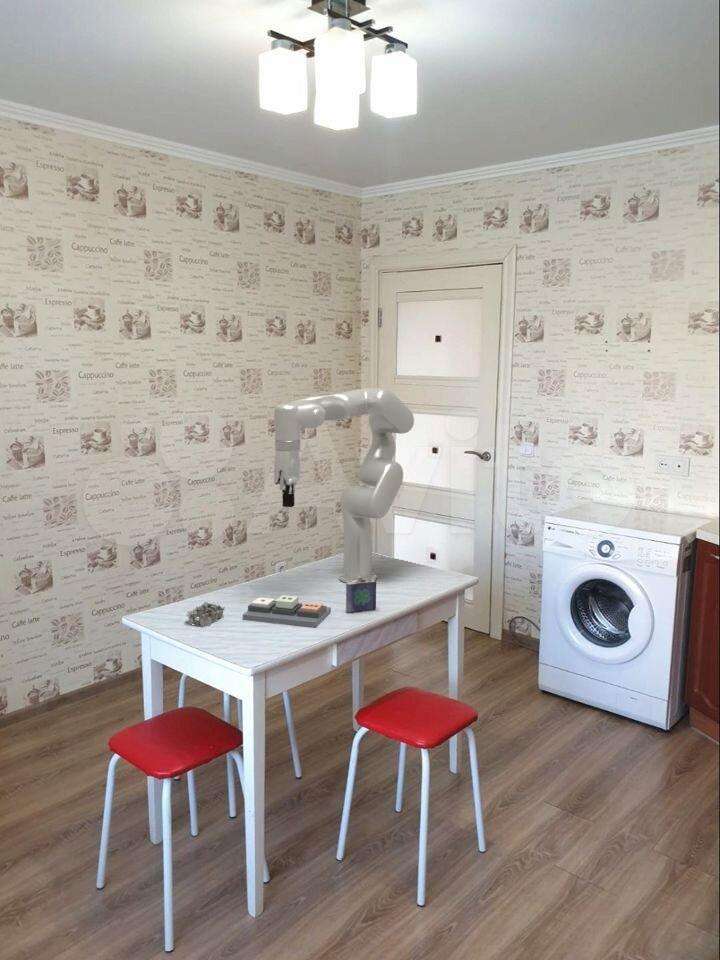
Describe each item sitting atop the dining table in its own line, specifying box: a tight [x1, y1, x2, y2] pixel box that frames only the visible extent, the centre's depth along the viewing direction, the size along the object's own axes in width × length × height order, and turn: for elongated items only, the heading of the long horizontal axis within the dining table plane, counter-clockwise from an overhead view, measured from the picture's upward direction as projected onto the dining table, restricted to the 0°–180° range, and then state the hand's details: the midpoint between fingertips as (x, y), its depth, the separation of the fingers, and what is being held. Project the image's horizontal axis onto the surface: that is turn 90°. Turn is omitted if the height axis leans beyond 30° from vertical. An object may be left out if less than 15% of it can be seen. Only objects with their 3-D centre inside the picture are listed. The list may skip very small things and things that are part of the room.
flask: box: [345, 575, 377, 614], centre depth 222 cm, size 9×3×11 cm, turn 109°
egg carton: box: [186, 601, 226, 627], centre depth 215 cm, size 11×8×4 cm
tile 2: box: [275, 595, 299, 609], centre depth 217 cm, size 5×5×2 cm
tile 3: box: [300, 602, 324, 613], centre depth 215 cm, size 5×5×2 cm
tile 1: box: [251, 597, 276, 607], centre depth 220 cm, size 5×5×2 cm
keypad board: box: [242, 600, 332, 629], centre depth 218 cm, size 13×22×3 cm, turn 73°
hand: (288, 506), depth 228 cm, fingers closed
